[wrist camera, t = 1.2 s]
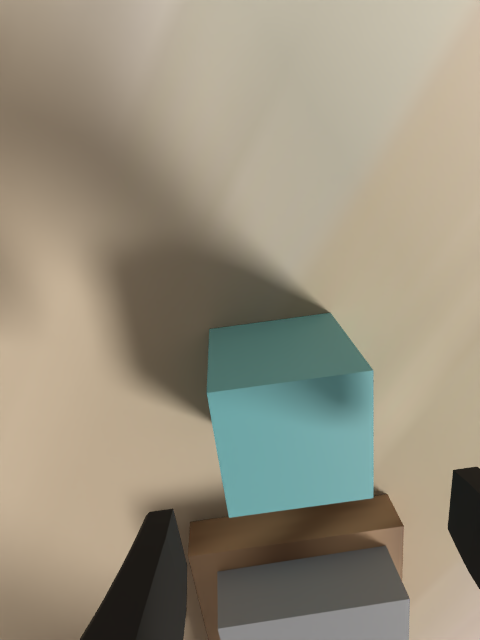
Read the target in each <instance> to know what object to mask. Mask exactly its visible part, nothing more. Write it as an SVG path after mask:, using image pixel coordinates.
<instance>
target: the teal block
mask: <svg viewBox="0 0 480 640" xmlns="http://www.w3.org/2000/svg"><path fill="white" fill-rule="evenodd" d="M207 398H208V403H209V409H210V415H211V420H212V426H213V431H214V437H215V443H216V448H217V454H218V459H219V465H220V471H221V476H222V482H223V487H224V493H225V499H226V504H227V510H228V516H229V518H232V517H239V516H246V515H254V514H261V513H268V512H276V511H283V510H290V509H298V508H305V507H312V506H320V505H327V504H334V503H342V502H349V501H356V500H364V499H371V498H373V369H372V368H371V367H370V365H369V364H368V363H367V361H366V360H365V359H364V357H363V356H362V355H361V353H360V352H359V351H358V349H357V348H356V347H355V345H354V344H353V342H352V341H351V340H350V338H349V337H348V336H347V334H346V333H345V332H344V330H343V329H342V328H341V326H340V325H339V324H338V322H337V321H336V320H335V318H334V317H333V316H332V314H331V313H325V314H317V315H310V316H303V317H295V318H288V319H280V320H273V321H266V322H258V323H251V324H243V325H236V326H228V327H221V328H214V329H209V350H208V373H207Z"/></svg>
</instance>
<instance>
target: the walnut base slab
mask: <svg viewBox="0 0 480 640" xmlns="http://www.w3.org/2000/svg"><path fill="white" fill-rule="evenodd" d="M403 533H404V526H403V524H402V522H401V520H400V518H399V516H398V514H397V512H396V510H395V508H394V506H393V504H392V502H391V500H390V498H389V496H388V494H384V495H377V496H373V498H371V499H364V500H356V501H349V502H342V503H334V504H327V505H320V506H312V507H305V508H298V509H290V510H283V511H276V512H268V513H261V514H254V515H246V516H239V517H232V518H229V517H222V518H215V519H207V520H200V521H193V522H190V535H189V548H188V559H189V563H190V567H191V571H192V575H193V579H194V583H195V587H196V591H197V595H198V599H199V603H200V607H201V611H202V615H203V619H204V623H205V627H206V631H207V635H208V640H220V636H219V632H218V596H217V572H218V571H225V570H231V569H238V568H244V567H251V566H257V565H264V564H270V563H276V562H283V561H289V560H296V559H302V558H309V557H315V556H322V555H328V554H335V553H341V552H348V551H354V550H361V549H367V548H373V547H380V546H386V547H387V549H388V551H389V554H390V556H391V558H392V560H393V563H394V565H395V567H396V569H397V572H398V574H399V576H400V578H401V581H402V567H403Z"/></svg>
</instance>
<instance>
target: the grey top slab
mask: <svg viewBox="0 0 480 640" xmlns="http://www.w3.org/2000/svg"><path fill="white" fill-rule="evenodd" d="M217 596H218V632H219V636H220V640H409V609H410V599H409V596H408V594H407V592H406V590H405V587H404V585H403V583H402V581H401V578H400V576H399V574H398V572H397V569H396V567H395V565H394V563H393V560H392V558H391V556H390V554H389V551H388V549H387V547H386V546H380V547H373V548H367V549H361V550H354V551H348V552H341V553H335V554H328V555H322V556H315V557H309V558H302V559H296V560H289V561H283V562H276V563H270V564H264V565H257V566H251V567H244V568H238V569H231V570H225V571H218V572H217Z"/></svg>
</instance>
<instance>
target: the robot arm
mask: <svg viewBox="0 0 480 640" xmlns="http://www.w3.org/2000/svg"><path fill="white" fill-rule="evenodd" d="M448 530H449V532H450V535H451V537H452V539H453V541H454V543H455V545H456V547H457V549H458V551H459V553H460V555H461V557H462V559H463V561H464V563H465V565H466V567H467V569H468V571H469V573H470V574H471V576H472V578H473V579H474V581H475V583H476V584H477V586H478V587H479V589H480V469H479V468H478V467H472V468H464V469H457V470H453V478H452V488H451V499H450V510H449V520H448ZM186 599H187V563H186V559H185V555H184V551H183V547H182V543H181V539H180V535H179V531H178V527H177V523H176V519H175V515H174V510H173V509H168V510H161V511H154V512H149V513H148V514H147V515H146V517H145V519H144V521H143V524H142V526H141V528H140V530H139V532H138V534H137V537H136V539H135V541H134V543H133V545H132V547H131V549H130V551H129V553H128V555H127V557H126V559H125V561H124V563H123V565H122V567H121V568H120V570H119V572H118V574H117V576H116V578H115V580H114V581H113V583H112V585H111V587H110V589H109V591H108V592H107V594H106V596H105V598H104V600H103V601H102V603H101V605H100V607H99V608H98V610H97V612H96V613H95V615H94V617H93V618H92V620H91V622H90V623H89V625H88V627H87V628H86V630H85V632H84V633H83V635H82V637H81V638H80V640H183V636H184V627H185V618H186Z"/></svg>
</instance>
